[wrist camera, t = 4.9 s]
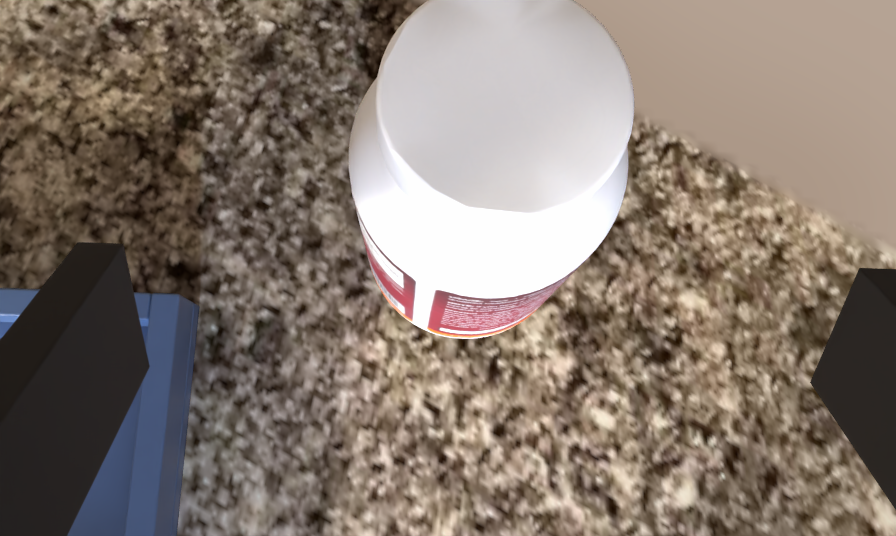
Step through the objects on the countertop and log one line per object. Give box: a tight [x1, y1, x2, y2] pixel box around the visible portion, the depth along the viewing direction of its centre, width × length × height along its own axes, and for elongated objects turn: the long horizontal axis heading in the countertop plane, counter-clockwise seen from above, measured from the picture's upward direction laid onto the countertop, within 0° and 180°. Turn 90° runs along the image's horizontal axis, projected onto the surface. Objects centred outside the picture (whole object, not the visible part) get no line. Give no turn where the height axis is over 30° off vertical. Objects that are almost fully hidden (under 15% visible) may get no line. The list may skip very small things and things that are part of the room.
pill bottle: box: [349, 0, 634, 338], centre depth 18 cm, size 6×6×11 cm
